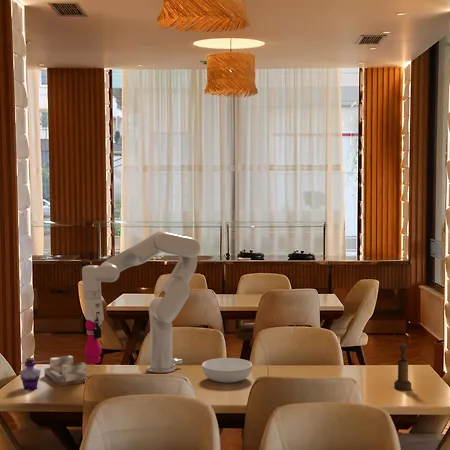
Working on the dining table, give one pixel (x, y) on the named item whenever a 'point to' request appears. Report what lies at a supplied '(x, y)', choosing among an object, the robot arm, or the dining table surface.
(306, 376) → the dining table surface
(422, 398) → the dining table surface
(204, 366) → the serving bowl
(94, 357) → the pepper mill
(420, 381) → the dining table surface
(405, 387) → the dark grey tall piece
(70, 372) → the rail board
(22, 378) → the potion bottle
